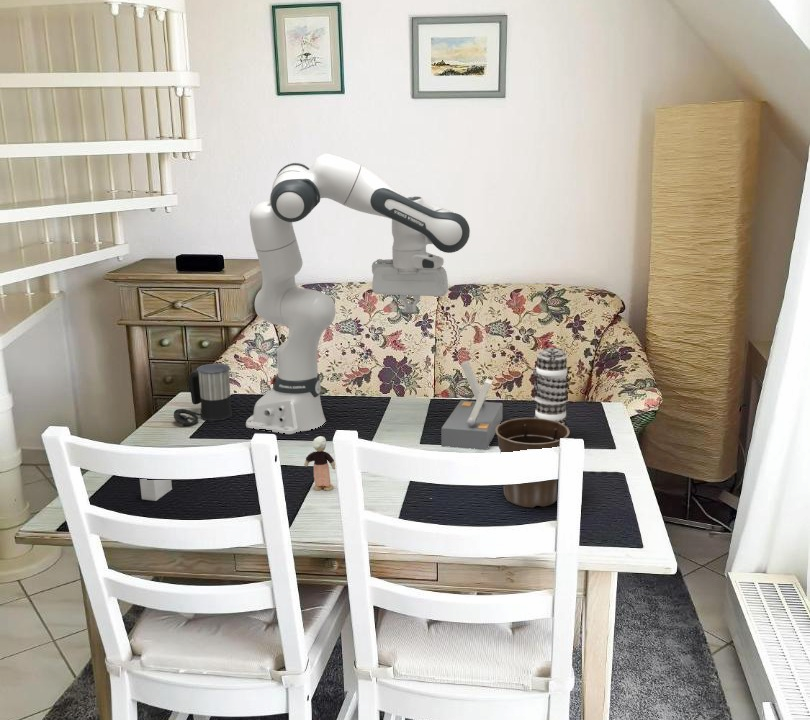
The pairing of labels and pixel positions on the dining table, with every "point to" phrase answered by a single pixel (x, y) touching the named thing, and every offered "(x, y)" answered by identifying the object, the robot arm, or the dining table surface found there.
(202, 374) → the milk frother
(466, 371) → the switch lever
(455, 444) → the switch unit
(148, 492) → the light grey rectangular block
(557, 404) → the decorative candle
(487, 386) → the switch lever
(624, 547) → the dining table surface
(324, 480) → the grandmother figurine
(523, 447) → the plant pot
